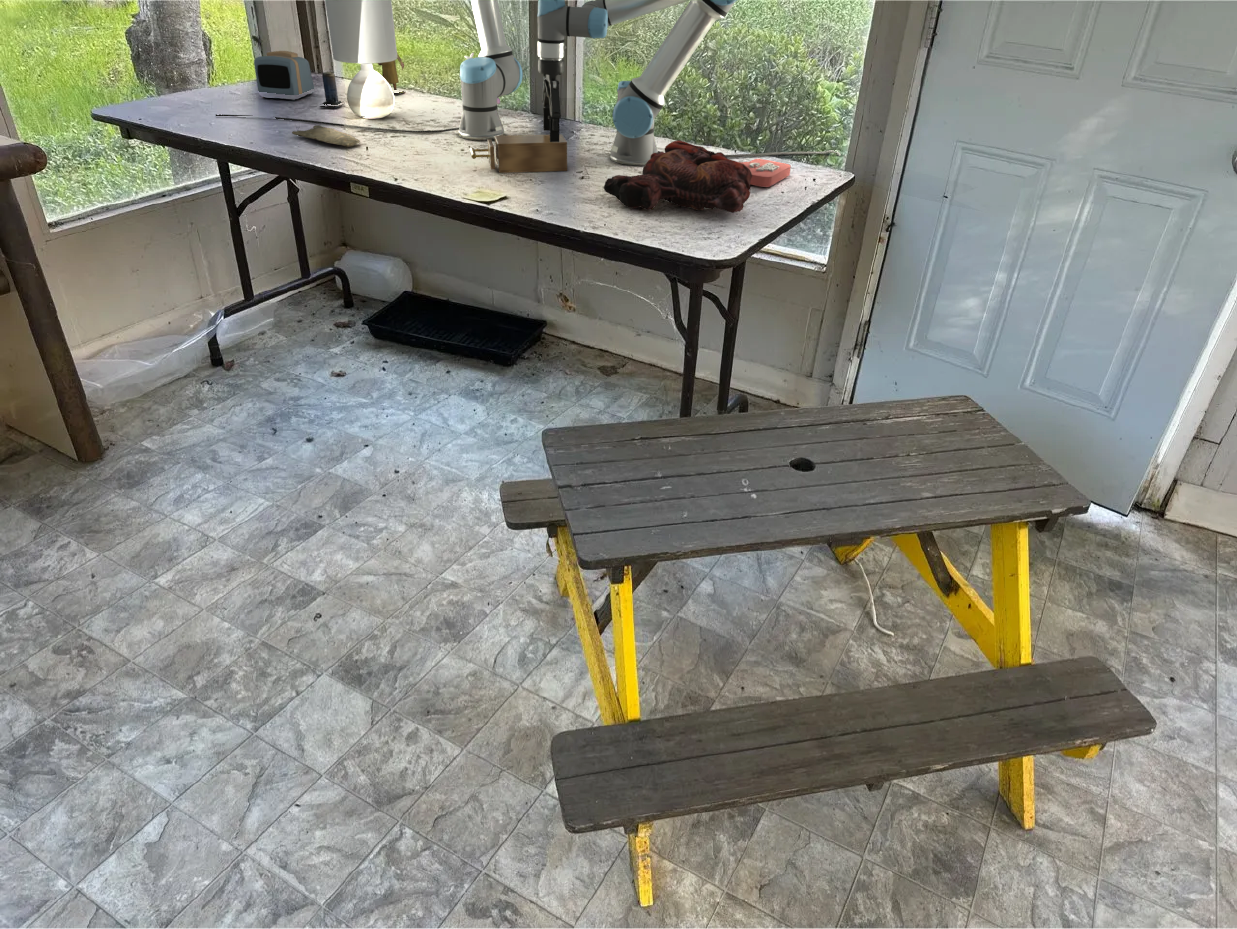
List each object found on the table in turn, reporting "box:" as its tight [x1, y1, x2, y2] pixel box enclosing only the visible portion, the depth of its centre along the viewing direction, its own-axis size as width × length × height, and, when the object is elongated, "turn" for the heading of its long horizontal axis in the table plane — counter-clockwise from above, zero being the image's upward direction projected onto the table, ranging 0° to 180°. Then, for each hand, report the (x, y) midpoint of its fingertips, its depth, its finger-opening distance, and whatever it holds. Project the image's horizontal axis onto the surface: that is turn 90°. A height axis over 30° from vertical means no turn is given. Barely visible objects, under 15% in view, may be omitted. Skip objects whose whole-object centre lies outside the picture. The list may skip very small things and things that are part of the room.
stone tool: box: [291, 124, 361, 147], centre depth 276 cm, size 11×3×25 cm
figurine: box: [377, 52, 405, 96], centre depth 332 cm, size 11×9×30 cm
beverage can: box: [319, 71, 345, 110], centre depth 314 cm, size 9×8×12 cm
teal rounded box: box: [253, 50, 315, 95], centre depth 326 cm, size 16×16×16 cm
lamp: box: [324, 0, 398, 120], centre depth 295 cm, size 22×22×40 cm
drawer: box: [469, 139, 499, 170], centre depth 254 cm, size 25×9×6 cm, turn 102°
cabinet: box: [494, 133, 568, 174], centre depth 255 cm, size 20×10×8 cm, turn 102°
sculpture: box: [603, 139, 752, 214], centre depth 228 cm, size 43×30×13 cm
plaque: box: [739, 158, 792, 188], centre depth 254 cm, size 18×4×15 cm
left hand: (600, 6), depth 264 cm, fingers open, 13 cm apart
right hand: (551, 136), depth 254 cm, fingers open, 13 cm apart
